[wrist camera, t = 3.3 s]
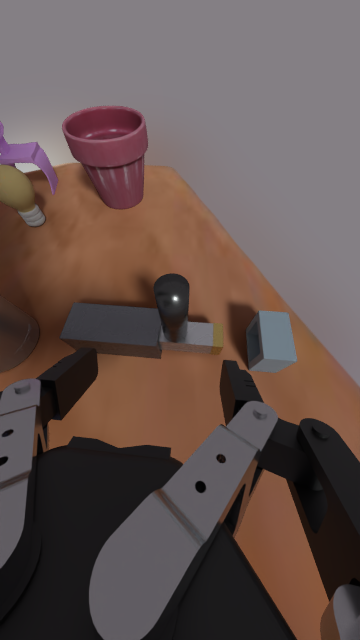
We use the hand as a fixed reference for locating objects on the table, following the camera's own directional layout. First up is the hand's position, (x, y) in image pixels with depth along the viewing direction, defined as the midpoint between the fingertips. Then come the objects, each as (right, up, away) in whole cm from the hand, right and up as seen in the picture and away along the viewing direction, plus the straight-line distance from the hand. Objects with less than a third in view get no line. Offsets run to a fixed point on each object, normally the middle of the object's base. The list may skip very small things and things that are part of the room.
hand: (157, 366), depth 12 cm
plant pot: (-11, +31, +32) cm, 46 cm away
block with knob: (-2, 0, +15) cm, 15 cm away
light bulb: (-28, +23, +29) cm, 46 cm away
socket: (+13, -1, +15) cm, 20 cm away
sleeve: (-7, 0, +16) cm, 17 cm away
